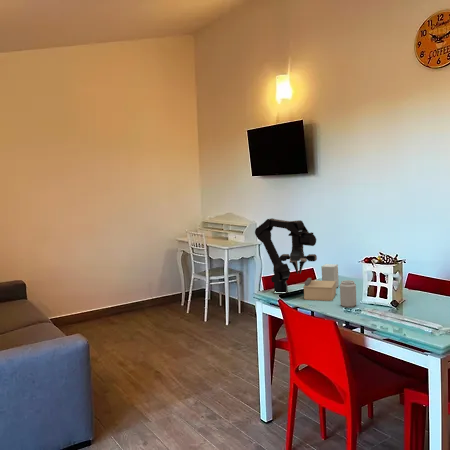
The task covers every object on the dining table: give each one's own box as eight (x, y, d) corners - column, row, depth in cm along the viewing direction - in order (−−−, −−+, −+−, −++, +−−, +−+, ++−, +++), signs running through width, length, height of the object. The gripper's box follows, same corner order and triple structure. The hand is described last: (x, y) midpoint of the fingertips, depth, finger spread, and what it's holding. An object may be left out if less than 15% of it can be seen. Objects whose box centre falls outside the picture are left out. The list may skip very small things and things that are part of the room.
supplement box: (339, 286, 269) (338, 264, 268) (334, 289, 263) (333, 266, 262) (326, 285, 273) (325, 263, 272) (321, 288, 267) (321, 266, 266)
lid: (303, 288, 245) (303, 283, 245) (309, 281, 258) (308, 277, 258) (331, 289, 240) (331, 284, 239) (336, 282, 253) (335, 277, 253)
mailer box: (304, 299, 246) (303, 288, 245) (309, 292, 259) (309, 282, 258) (331, 300, 241) (331, 289, 240) (335, 293, 254) (335, 282, 253)
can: (347, 308, 226) (347, 283, 224) (337, 305, 232) (336, 281, 231) (359, 305, 229) (359, 281, 228) (349, 302, 236) (348, 278, 235)
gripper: (276, 247, 247) (277, 276, 248) (312, 247, 240) (313, 277, 241) (281, 243, 257) (283, 272, 259) (316, 243, 250) (317, 272, 252)
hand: (298, 273), depth 252 cm, fingers closed
